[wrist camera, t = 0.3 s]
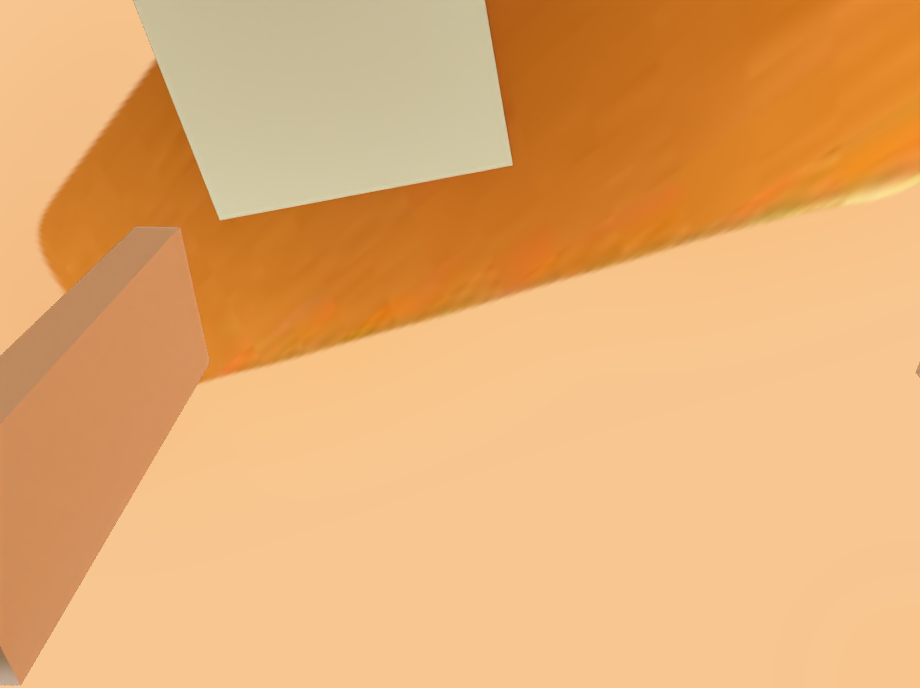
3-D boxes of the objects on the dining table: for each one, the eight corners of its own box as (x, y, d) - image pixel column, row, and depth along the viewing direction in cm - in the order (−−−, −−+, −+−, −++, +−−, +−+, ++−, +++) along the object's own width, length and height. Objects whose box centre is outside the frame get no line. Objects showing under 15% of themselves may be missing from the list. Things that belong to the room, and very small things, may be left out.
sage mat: (129, -24, 34) (124, -22, 34) (467, -105, 32) (466, -104, 32) (223, 216, 40) (219, 220, 40) (512, 161, 38) (512, 165, 38)
